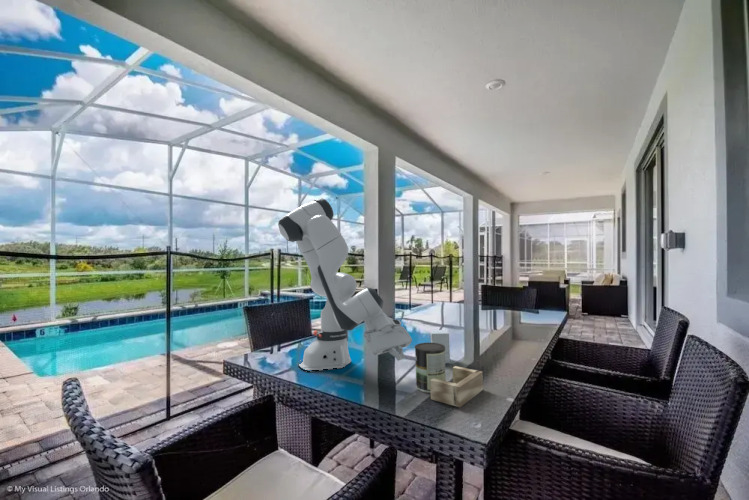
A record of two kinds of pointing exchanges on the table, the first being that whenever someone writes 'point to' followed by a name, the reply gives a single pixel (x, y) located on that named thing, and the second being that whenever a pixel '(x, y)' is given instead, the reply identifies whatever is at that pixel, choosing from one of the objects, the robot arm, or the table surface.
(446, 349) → the supplement box
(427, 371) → the coffee can
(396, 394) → the table surface
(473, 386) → the wooden dock
